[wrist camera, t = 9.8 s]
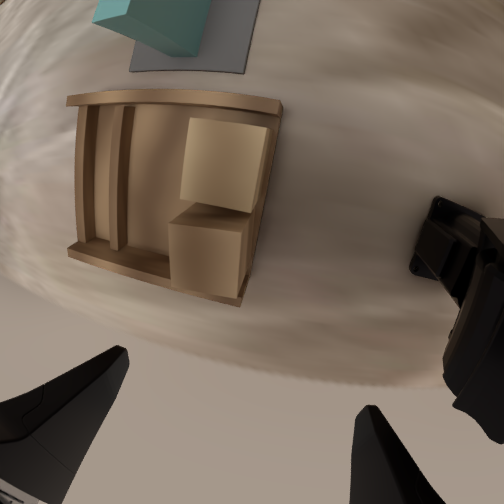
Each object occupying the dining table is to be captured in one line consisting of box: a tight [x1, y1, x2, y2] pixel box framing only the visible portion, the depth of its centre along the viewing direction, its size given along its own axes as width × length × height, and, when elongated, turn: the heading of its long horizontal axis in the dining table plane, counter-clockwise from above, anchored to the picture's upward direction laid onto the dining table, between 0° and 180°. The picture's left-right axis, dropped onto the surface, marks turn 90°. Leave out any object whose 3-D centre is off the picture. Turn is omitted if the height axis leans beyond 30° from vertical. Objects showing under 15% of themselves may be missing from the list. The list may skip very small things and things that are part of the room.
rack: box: [66, 89, 283, 307], centre depth 17 cm, size 15×13×4 cm
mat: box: [129, 0, 260, 74], centre depth 13 cm, size 9×12×1 cm
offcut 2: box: [168, 202, 255, 299], centre depth 17 cm, size 4×4×5 cm
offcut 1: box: [180, 118, 273, 213], centre depth 15 cm, size 4×4×4 cm
